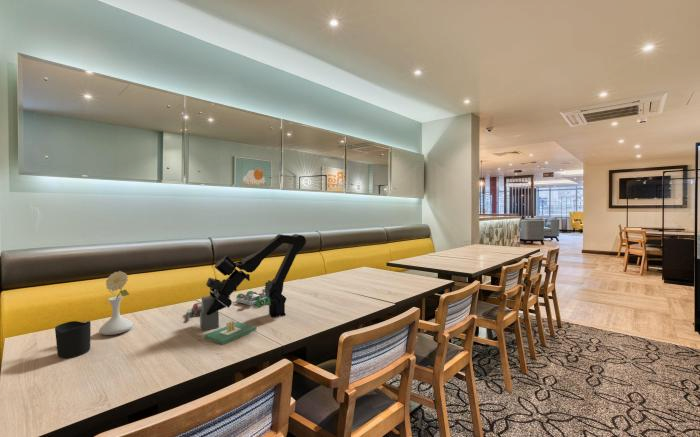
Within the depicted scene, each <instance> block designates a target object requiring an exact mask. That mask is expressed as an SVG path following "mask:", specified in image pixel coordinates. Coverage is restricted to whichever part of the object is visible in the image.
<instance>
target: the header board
mask: <svg viewBox="0 0 700 437" xmlns="http://www.w3.org/2000/svg"><path fill="white" fill-rule="evenodd" d="M256 330H257V326H255V325H250V324H247V323H246V324H245V323H243V322H239V321H237V322H235V320H231V321H229V322H226V326H224V327H222V328H221V327H220V328H219V329H217V330H213V331H211V332H209V333H206V334H204V335H203V339H205V340H209V341H211V342H215V343H217V344H220V345H225V344H227V343H229V342H230V343H231V342H232V341H234V340H236V339H238V338H241V337H244V336H245V335H248V334H250V333H253V332H254V331H256Z"/></svg>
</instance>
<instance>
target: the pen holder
mask: <svg viewBox="0 0 700 437" xmlns="http://www.w3.org/2000/svg"><path fill="white" fill-rule="evenodd" d="M91 328H92V327H91V320H89V321H84V322H83V321H76V320H74V321H73V320H72V321H71V320H70V321H67V322H63V323H60V324H58V325H56V326H55V327H54V333H55V341H56V342H55V343H56V350H57V357H59V359H71V358H75V357H79V356H83V355H85V354H87V353H88V352H89V351H90V350H91V332H92V331H91V330H92V329H91Z"/></svg>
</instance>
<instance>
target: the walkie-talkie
mask: <svg viewBox="0 0 700 437" xmlns="http://www.w3.org/2000/svg"><path fill="white" fill-rule="evenodd" d="M201 311H202V301H201V302H197V303H194V304H193V306H192V307H191V308H189V309H187V312H186V319H185V321H187V322H189V320H190V318H191V317H198V316H199V317H200V312H201Z"/></svg>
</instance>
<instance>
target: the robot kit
mask: <svg viewBox="0 0 700 437" xmlns="http://www.w3.org/2000/svg"><path fill="white" fill-rule="evenodd" d="M264 283H265V286H266V285H267V283H268V281H265V282H264ZM270 301H271V300H270V299H269V297H267V296H266V294H265V288H264V289H263V288H262V289H261V292H260V293H258V292H257V291H253V290H248V291H247V292H246V293H245V294H243V293H238V294H237V295H236V303H242V304H244V305H248V306H254V305H256V306H257V307H258V308H262V307H264V305H265V304H268V305H269V304H270Z"/></svg>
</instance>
